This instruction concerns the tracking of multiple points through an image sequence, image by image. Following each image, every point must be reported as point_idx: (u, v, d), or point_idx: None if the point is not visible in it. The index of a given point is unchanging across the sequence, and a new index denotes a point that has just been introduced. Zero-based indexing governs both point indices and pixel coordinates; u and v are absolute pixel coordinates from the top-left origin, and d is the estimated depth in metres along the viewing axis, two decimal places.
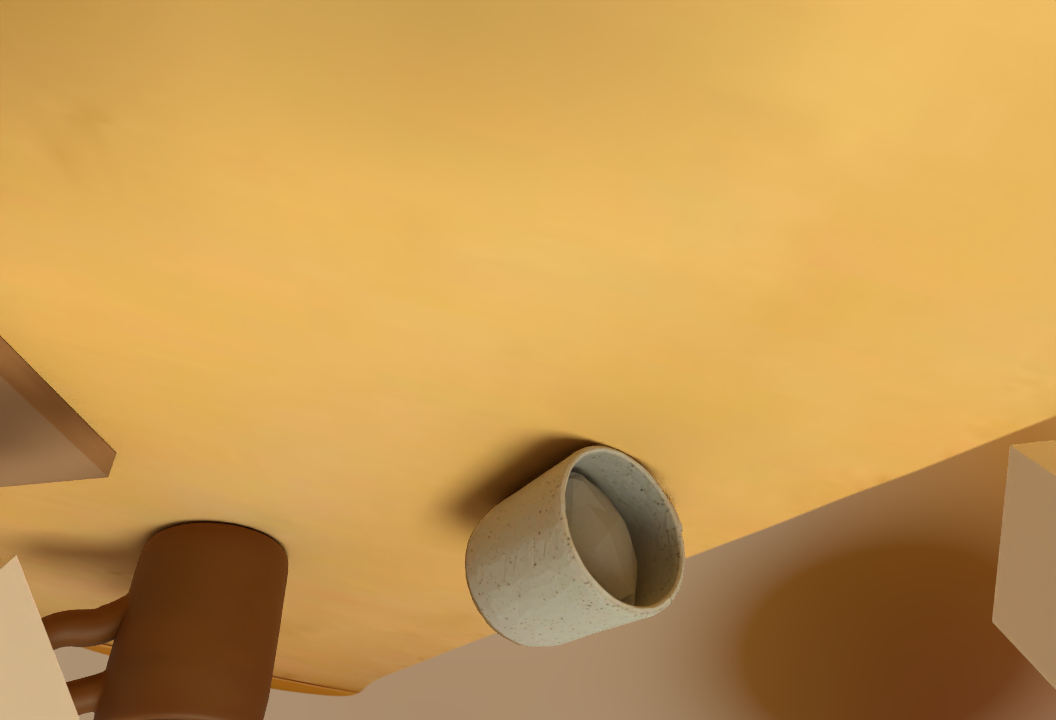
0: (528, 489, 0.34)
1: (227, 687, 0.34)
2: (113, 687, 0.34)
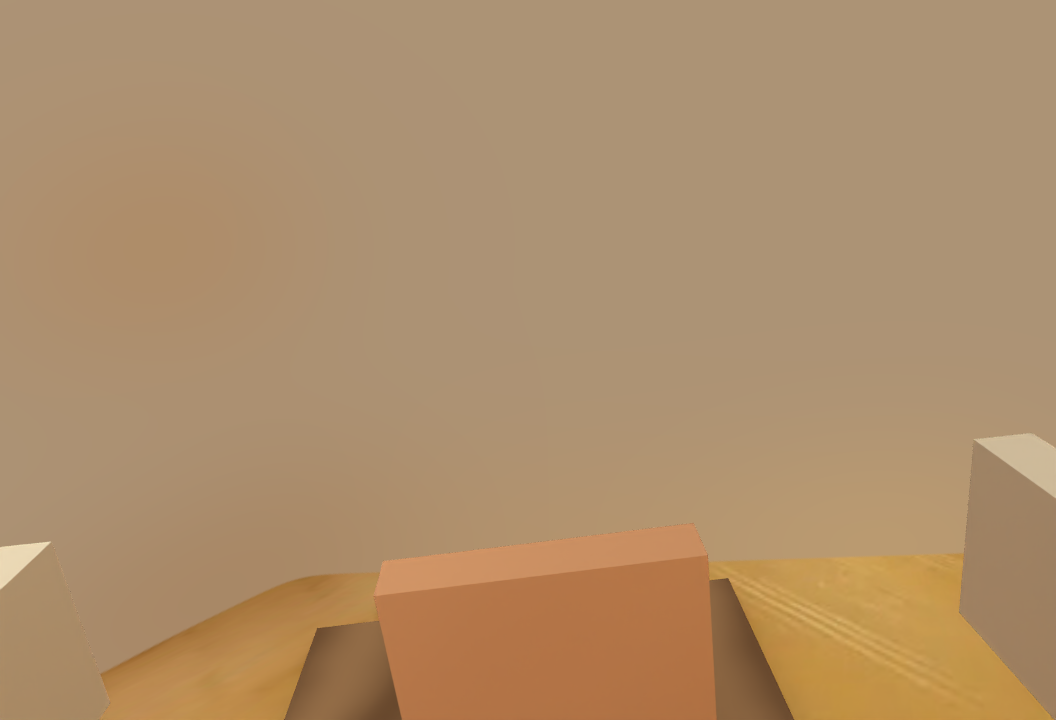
0: None
1: None
2: None
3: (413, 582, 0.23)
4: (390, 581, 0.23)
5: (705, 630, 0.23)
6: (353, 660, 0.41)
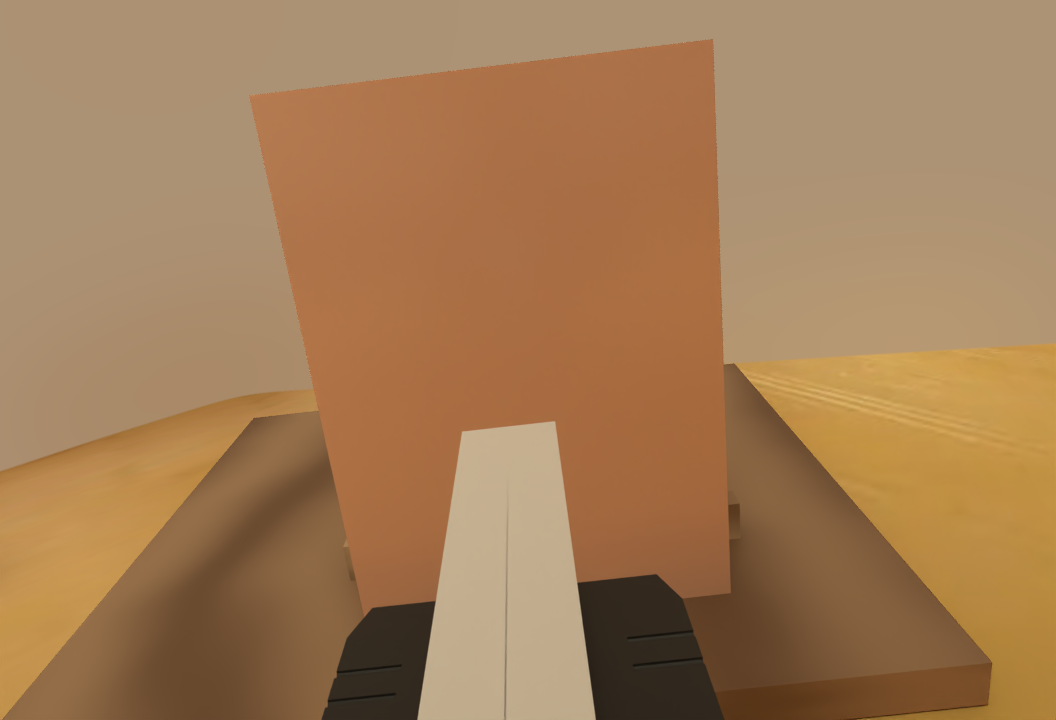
0: None
1: None
2: None
3: None
4: None
5: (708, 169, 0.17)
6: (290, 438, 0.34)
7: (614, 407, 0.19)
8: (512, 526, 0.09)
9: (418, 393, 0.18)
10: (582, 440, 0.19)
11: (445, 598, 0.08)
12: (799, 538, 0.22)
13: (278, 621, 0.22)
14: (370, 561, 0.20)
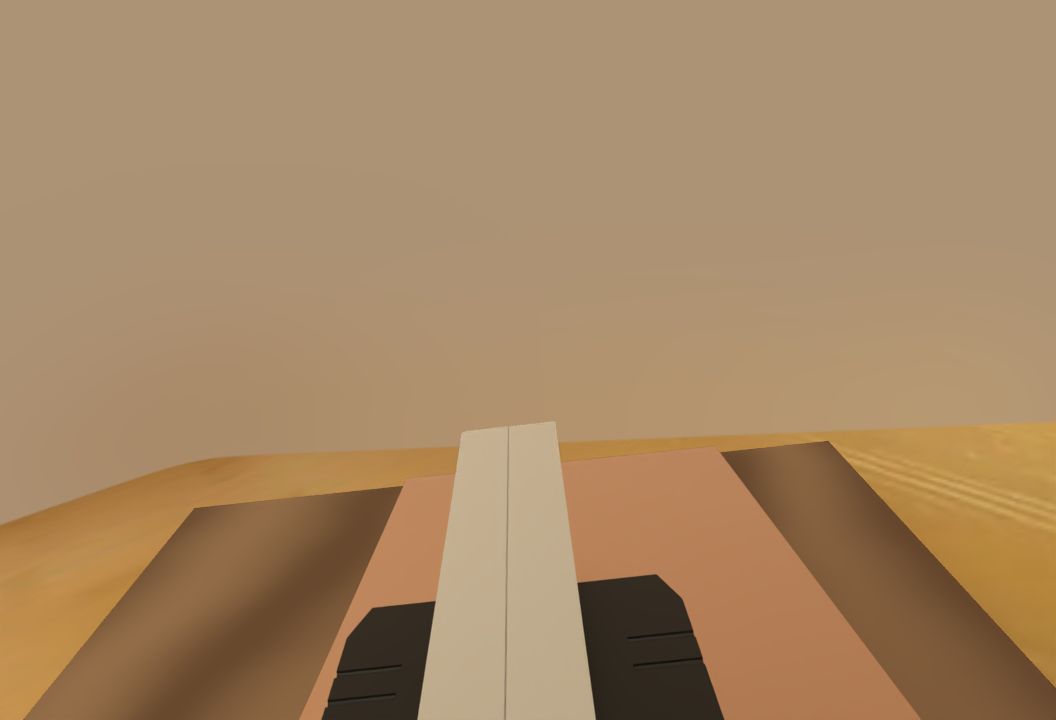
0: None
1: None
2: None
3: None
4: None
5: (730, 476, 0.21)
6: (235, 546, 0.25)
7: (679, 580, 0.16)
8: (512, 526, 0.09)
9: None
10: None
11: (445, 598, 0.08)
12: None
13: None
14: None
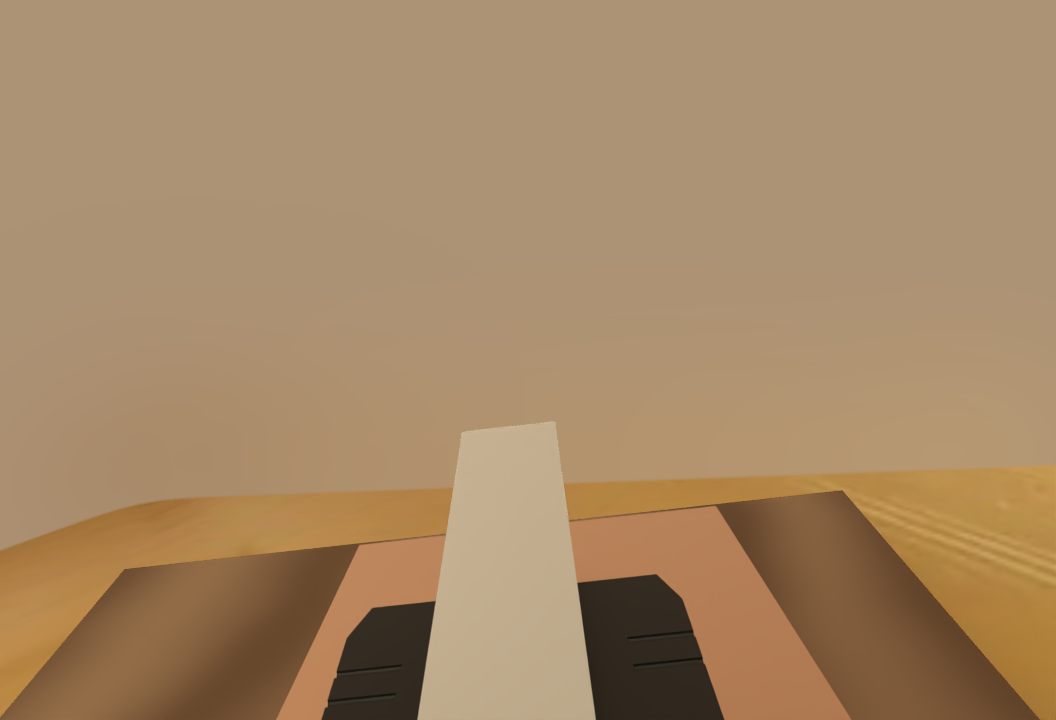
0: None
1: None
2: None
3: None
4: None
5: (735, 551, 0.18)
6: (164, 621, 0.22)
7: None
8: (512, 526, 0.09)
9: None
10: None
11: (445, 598, 0.08)
12: None
13: None
14: None
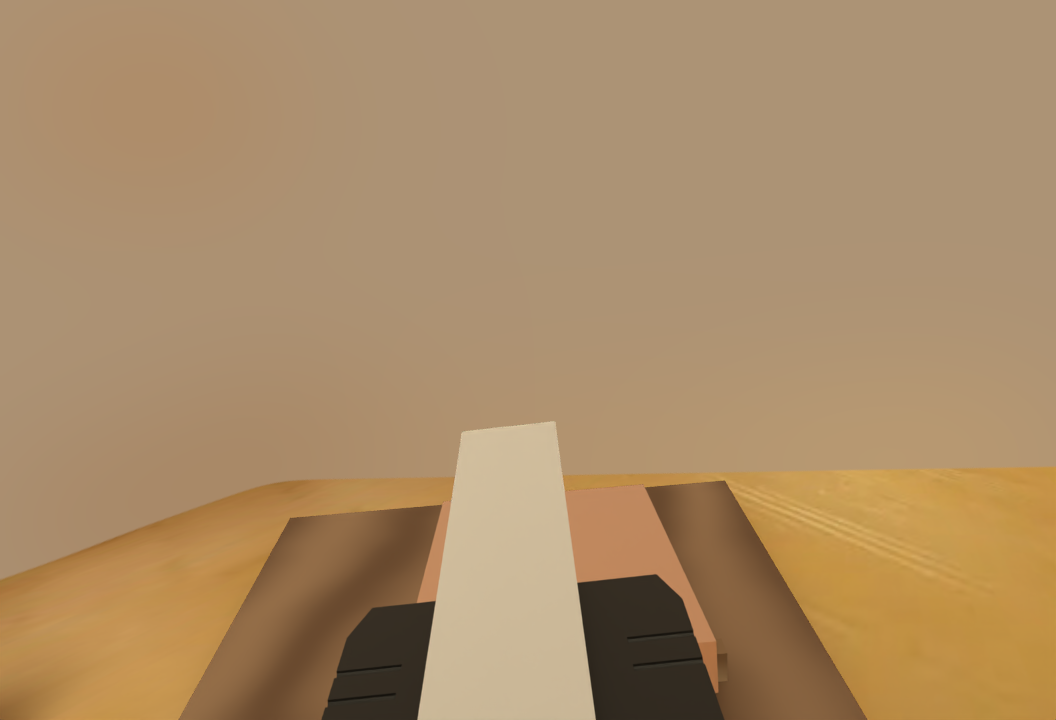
0: None
1: None
2: None
3: None
4: None
5: (648, 505, 0.35)
6: (326, 544, 0.38)
7: (607, 564, 0.29)
8: (512, 526, 0.09)
9: None
10: (587, 575, 0.28)
11: (445, 598, 0.08)
12: (776, 683, 0.27)
13: None
14: None
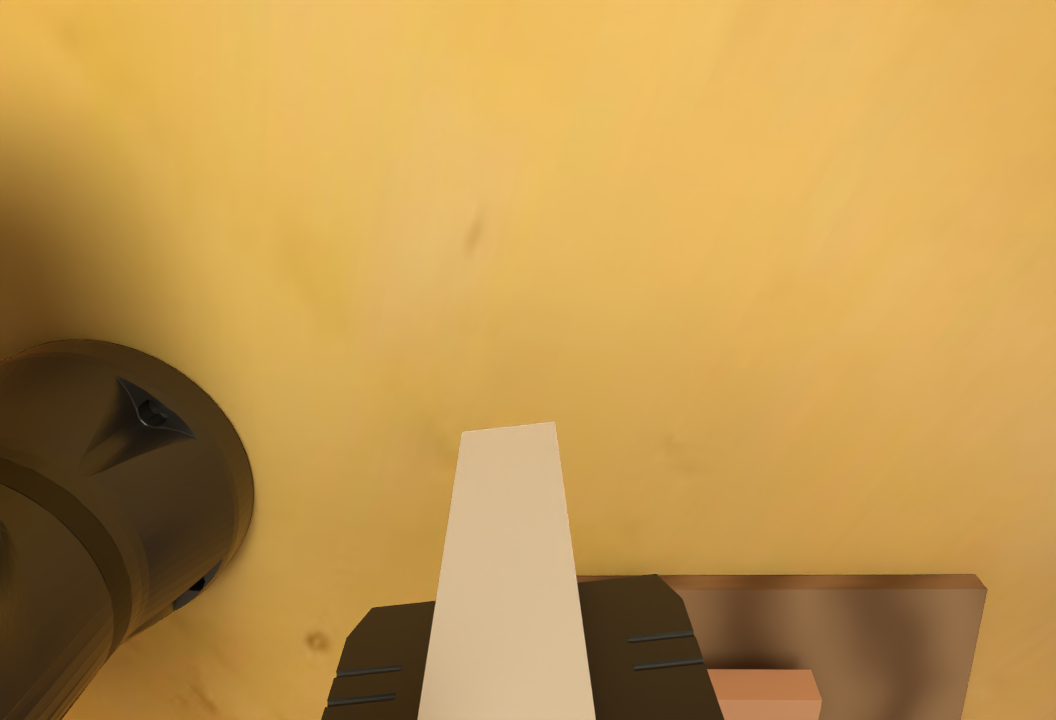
0: None
1: None
2: None
3: None
4: None
5: None
6: None
7: None
8: (512, 526, 0.09)
9: None
10: None
11: (445, 598, 0.08)
12: None
13: (851, 657, 0.40)
14: None
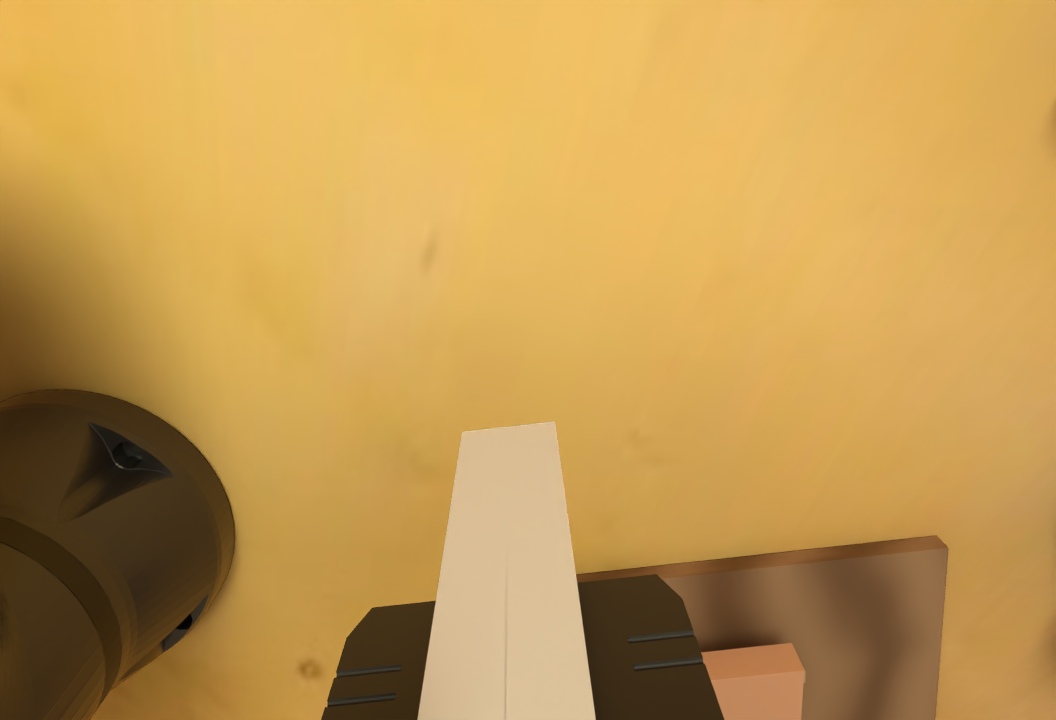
0: None
1: None
2: None
3: None
4: None
5: None
6: None
7: None
8: (512, 526, 0.09)
9: None
10: None
11: (445, 598, 0.08)
12: None
13: (829, 628, 0.41)
14: (793, 702, 0.39)
